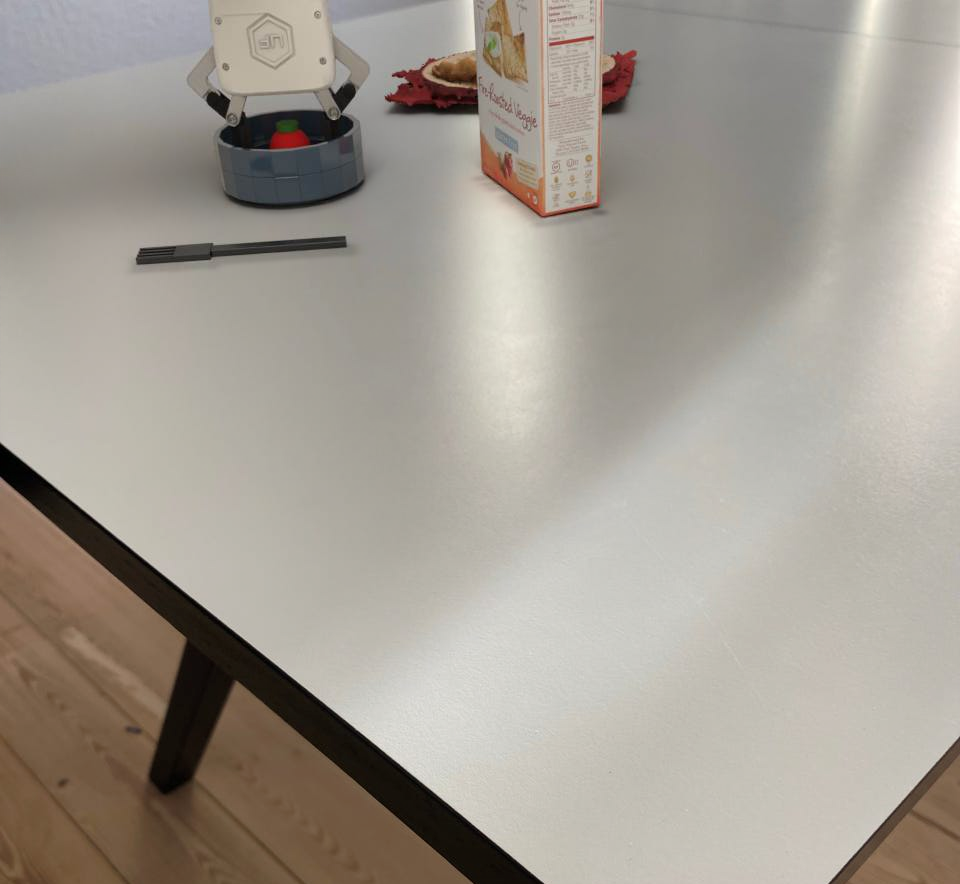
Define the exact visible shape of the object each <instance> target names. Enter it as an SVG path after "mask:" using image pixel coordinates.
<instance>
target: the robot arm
mask: <svg viewBox="0 0 960 884" xmlns="http://www.w3.org/2000/svg"><path fill="white" fill-rule="evenodd" d="M207 3H208V12H209V23H210V32H211V38H212V40H211V41H212V45H211V46H210V47H209V49H208V50H207V51H206V52H205V53H204V55H202V56H201V59H200V60H199V61H198V62H197V63H196V64H195V66H194V67H193V68H192V69H191V71H190V72H189V73H188V75H187V78H186V84H187V85H188V86H189V88H191V89H192V90H193V91H194V93H196V94H197V95H198V96H199V97H200V98H201V99H203V101H205V103H206V104H207V105H208V106H209V108H211V109H212V110H213V111H215V112H216V113H217V114H218V115H219V116H221V117H222V118H223V119H224V120H225V122H226V123H228V124H229V125H230V126H231V127H232V133H233V138H234V144H235V147H241V148H247V149H254V145H253V138H252V132H251V126H250V120H249V119H247V117H246V116H247V115H246V112H245V111H244V108H245V106H246V102H247V99H248V97H264V96H265V97H266V96H282V95H297V94H310V93H313V94H314V96H315V98H316V99H317V101H318V102H319V104H320V106H321V107H322V109H324V115H323V122H322V123H323V132H324V141H325V142H327V141H331V140H334V139H336V138H338V137H341V132H340V123H339V117H340V115H341V113H342V112H343V113H344V111H345V110H346V108H347V107H348V106H349V104H350V103H351V102H353V101H352V100H353V99H355V97H356V94H358V91H359V90H360V89H361V87H362V86H363V85H364V82H365V81H366V80H367V78H368V76H369V75H370V73H371V65H370V63H369V62H368V61H366V60H365V59H364V58H363V57H361V56H360V55H359V54H358V53H357V52H356V51H354V50H353V49H352V48H351V47H349V46H348V45H347V44H345V43H344V42H343V41H342V40H340V39H339V37H337V36H335V34H334V33H333V27H332V21H331V15H330V9H329V4H328V0H207ZM336 60H337V61H338V62H340V63H341V64H342V65H343V66H344V67H346V68H347V69H348V70H349V75H348V77H347V78H346V79H345V81H344V82H343V83H342V85H341V86H340V87H339V88H338V89H337V91H336V92H335V91H334V89H333V87H332V86H333V85H334V83H335V81H336V75H337V67H336V66H337V63H336ZM215 69H216V74H217V79H218V83H219V84H218V85H219V86H220V89H221V90H222V91H223V92H224V93H226V94H227V95H230V96H231V98H228V96H227V95H225V94H224V93H223V92H222V91H221V90H219V88H218V89H217V88H216V87H215V86H214V85H213V84H212V83H211V82H210V80H209V76H210V75H211V74H212V73H213V71H214V70H215Z"/></svg>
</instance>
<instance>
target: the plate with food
mask: <svg viewBox="0 0 960 884" xmlns="http://www.w3.org/2000/svg"><path fill="white" fill-rule="evenodd" d="M637 54H638V51H637V50H635V49H631V50H629V51H628V52H626V53H624V54H621V52H620V51H618V50H617V51H616V54H614V53H613V54H611V55H610V54H606V53H605V52H603V63H602V109H603V108H606V107H607V106H608V105H609V104H610V103H611V102H613V103H616V102H617V101H618V100H620V99H622V100H626V97H627V93H628V90H629V87H630V86H631V85H632V82H633V79H634V78H633V77H634V71H635V70H634V69H635V66H636V60H635V59H634V58H635V57H637V56H638V55H637ZM632 59H633V60H632ZM424 64H425V65H424ZM422 65H424V66H422ZM390 76H391V77H392V78H395V77H396V78H398V79H404V80H406V82H405V83H400V84H398V85H397V89H396V91H395V92H394V93H392V92H390V91H389V94H386V95H384V100H385V101H386V102H387V103H388V102H389V103H395V104H401V105H403V104H404V106H408V107H411V106H413V105H420V104H422V105H436V107H438V109H441V108H443V109H446V110H447V109H448V107H451V106H452V104H453V105H455V104H460V105H475V104H478V97H476V96H478V86H477V67H476V49H474V50H469V51H464V52H458V53H453V54H452V55H451V54H450V55H448V57H446V56H442V57H440V58H438V59H435V58H434V57H433V58H431V57H428V59H427V60H426V61H425V63H422V64H421V66H420V68H419V69H409V70H408V71H407V70H405V69H402V70H400V71H396V72H393V73H392V74H391V75H390Z"/></svg>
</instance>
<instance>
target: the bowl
mask: <svg viewBox="0 0 960 884" xmlns="http://www.w3.org/2000/svg"><path fill="white" fill-rule="evenodd" d="M323 115H324V109H323V108H289V109H277V110H271V111H264V112H258V113H254V114H250V115H246V117H247V119H249V120H250V126H251V132H252V138H253V145H254V149H247V148H241V147H235V144H234V138H233V133H232V127H231V126H230V125H229V124H228V123H227V122H226V123H224V124H222V125H221V126H219V127H218V128H217V129H215V130H214V133H213V134H212V142H213V147H214V153H215V158H216V162H217V169H218V174H219V178H220V179H219V180H220V186H221V189H222V190H223V191H224V192H225V194H226V195H228V196H231V197H233V198H235V199H237V200H240V201H245V202H250V203H253V204H259V205H266V206H293V205H295V206H296V205H304V204H305V205H306V204H310V203H317V202H321V201H324V200H327V199H330V198H334V197H337V196H338V195H340V194H342V193H345V192H346V191H349V190H350V189H352V188H355V187H356V186H359V184H361V182H362V181H363V180H364V179H365V177H366V168H365V167H366V166H365V158H364V149H363V138H362V128H361V121H360V120H359V119H358V117H356V116H354V115H352V114H350V113H347V112H344V111H343V112H342V113H341V115H340V117H339V123H340V132H341V137H338V138H336V139H334V140H331V141H327V142H325V141H324V132H323V123H322V122H323ZM282 120H296V121H298V126H299V129H300V130H301V131H302V132H304V133H305V134H306V136H307V137H308V139H309V141H310V144H311V145H310V146H304V147H298V148H288V149H274V150H270V141H271V138H272V136H273V135H274V134H275V132H276V131H277V129H276V123H277V122H279V121H282Z"/></svg>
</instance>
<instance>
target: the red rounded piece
mask: <svg viewBox="0 0 960 884" xmlns="http://www.w3.org/2000/svg"><path fill="white" fill-rule="evenodd" d="M276 129H277V131H276V132H275V134H274V135H273V136H272V138H271V141H270V150H274V149H288V148H298V147H304V146H310V145H311V144H310V141H309V139H308V137H307V136H306V134H305V133H304V132H302V131H301V130H300V129H299V126H298V121H296V120H282V121H279V122H277V123H276Z"/></svg>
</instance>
